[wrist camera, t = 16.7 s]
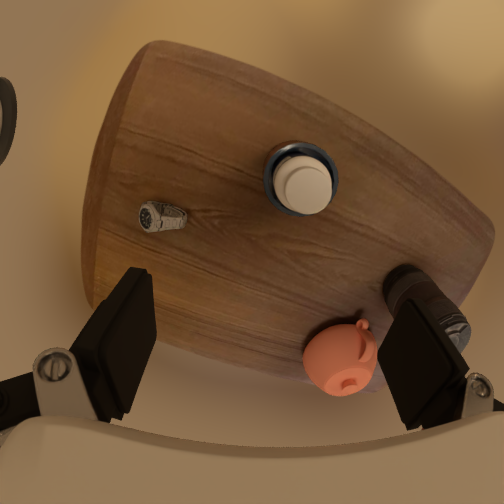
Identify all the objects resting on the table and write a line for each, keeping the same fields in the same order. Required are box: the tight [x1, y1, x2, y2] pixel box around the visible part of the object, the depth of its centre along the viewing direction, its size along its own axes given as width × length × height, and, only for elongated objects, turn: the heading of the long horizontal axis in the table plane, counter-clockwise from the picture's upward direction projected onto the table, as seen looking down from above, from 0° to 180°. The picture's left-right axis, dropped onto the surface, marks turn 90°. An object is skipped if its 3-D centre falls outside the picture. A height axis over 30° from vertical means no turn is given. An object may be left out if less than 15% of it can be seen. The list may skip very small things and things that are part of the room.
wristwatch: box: [139, 201, 187, 233], centre depth 32 cm, size 4×6×5 cm, turn 74°
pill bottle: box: [272, 151, 332, 214], centre depth 27 cm, size 5×5×10 cm
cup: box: [263, 140, 338, 217], centre depth 29 cm, size 8×8×6 cm
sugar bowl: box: [303, 318, 377, 396], centre depth 38 cm, size 12×14×10 cm
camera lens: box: [383, 265, 471, 353], centre depth 31 cm, size 8×8×15 cm
